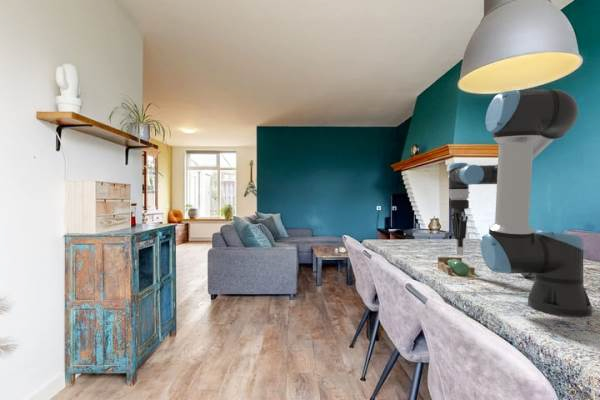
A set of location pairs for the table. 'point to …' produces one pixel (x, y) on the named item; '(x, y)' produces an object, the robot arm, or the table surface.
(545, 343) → the table surface
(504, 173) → the robot arm
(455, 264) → the bottle
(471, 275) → the cradle
